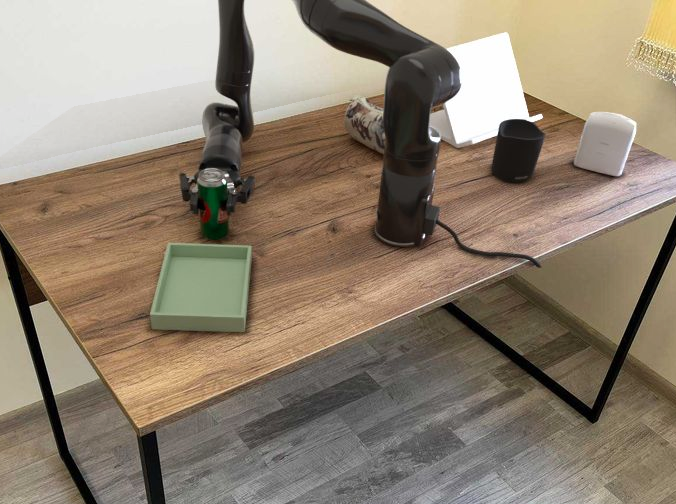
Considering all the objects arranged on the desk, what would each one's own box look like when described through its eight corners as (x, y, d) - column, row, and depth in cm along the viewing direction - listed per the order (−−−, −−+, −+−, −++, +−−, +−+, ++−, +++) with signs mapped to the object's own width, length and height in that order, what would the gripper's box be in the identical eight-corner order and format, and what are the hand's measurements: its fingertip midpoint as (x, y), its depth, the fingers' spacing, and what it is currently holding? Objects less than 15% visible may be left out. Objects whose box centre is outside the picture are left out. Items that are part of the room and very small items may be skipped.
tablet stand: (411, 123, 172) (422, 48, 160) (484, 98, 184) (498, 28, 173) (469, 154, 162) (485, 77, 150) (541, 126, 174) (561, 53, 163)
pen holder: (484, 178, 154) (494, 133, 148) (494, 158, 161) (504, 115, 154) (529, 188, 152) (541, 143, 145) (537, 168, 159) (549, 124, 152)
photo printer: (570, 166, 160) (587, 112, 152) (575, 158, 163) (591, 104, 155) (619, 179, 157) (638, 124, 149) (622, 171, 160) (642, 116, 152)
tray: (169, 257, 128) (167, 242, 126) (251, 260, 128) (251, 245, 126) (151, 329, 114) (149, 314, 112) (244, 332, 114) (244, 317, 112)
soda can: (224, 243, 131) (221, 184, 123) (197, 239, 132) (192, 179, 124) (232, 228, 135) (230, 169, 127) (206, 224, 136) (202, 165, 128)
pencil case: (436, 165, 157) (444, 122, 151) (409, 177, 153) (416, 133, 146) (364, 128, 169) (368, 86, 162) (337, 138, 164) (339, 95, 158)
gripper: (181, 142, 137) (167, 189, 124) (258, 145, 137) (253, 192, 125) (184, 178, 142) (171, 227, 129) (259, 181, 143) (254, 230, 130)
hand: (212, 210), depth 127 cm, fingers closed on soda can, 5 cm apart
